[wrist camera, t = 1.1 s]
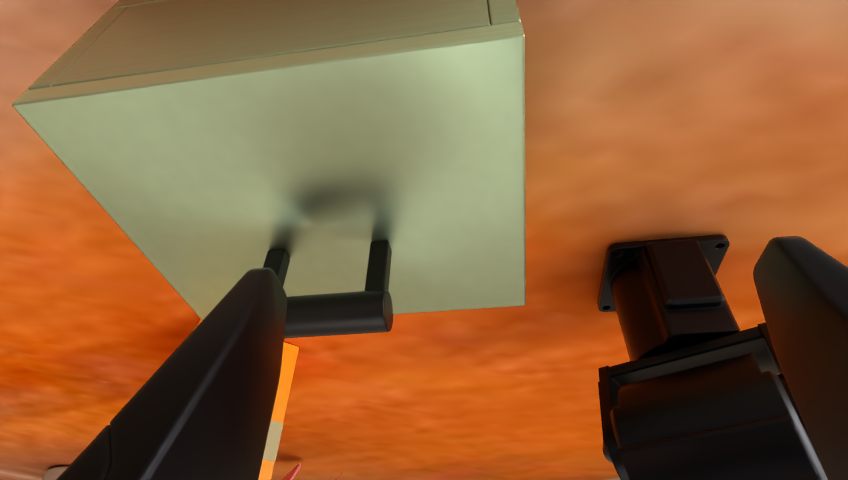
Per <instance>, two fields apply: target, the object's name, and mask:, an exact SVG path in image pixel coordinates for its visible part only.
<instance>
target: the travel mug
mask: <svg viewBox="0 0 848 480" xmlns="http://www.w3.org/2000/svg"><path fill="white" fill-rule="evenodd" d="M68 467H69V466H61V467H55V468H52V469H49V470H47V471H46V473H45V475H44V477H43V479H42V480H56V479H57V478H58V477H59V476H60V475H61V474H62V473H63V472H64V471H65V470H66V469H67V468H68Z"/></svg>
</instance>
